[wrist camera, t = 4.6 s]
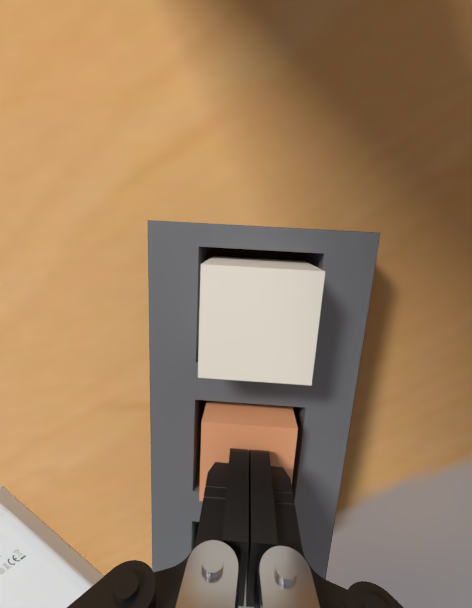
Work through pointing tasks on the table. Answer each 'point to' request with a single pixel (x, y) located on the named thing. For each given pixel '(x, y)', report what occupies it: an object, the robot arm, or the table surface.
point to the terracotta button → (246, 434)
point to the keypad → (303, 398)
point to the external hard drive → (37, 561)
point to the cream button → (259, 319)
